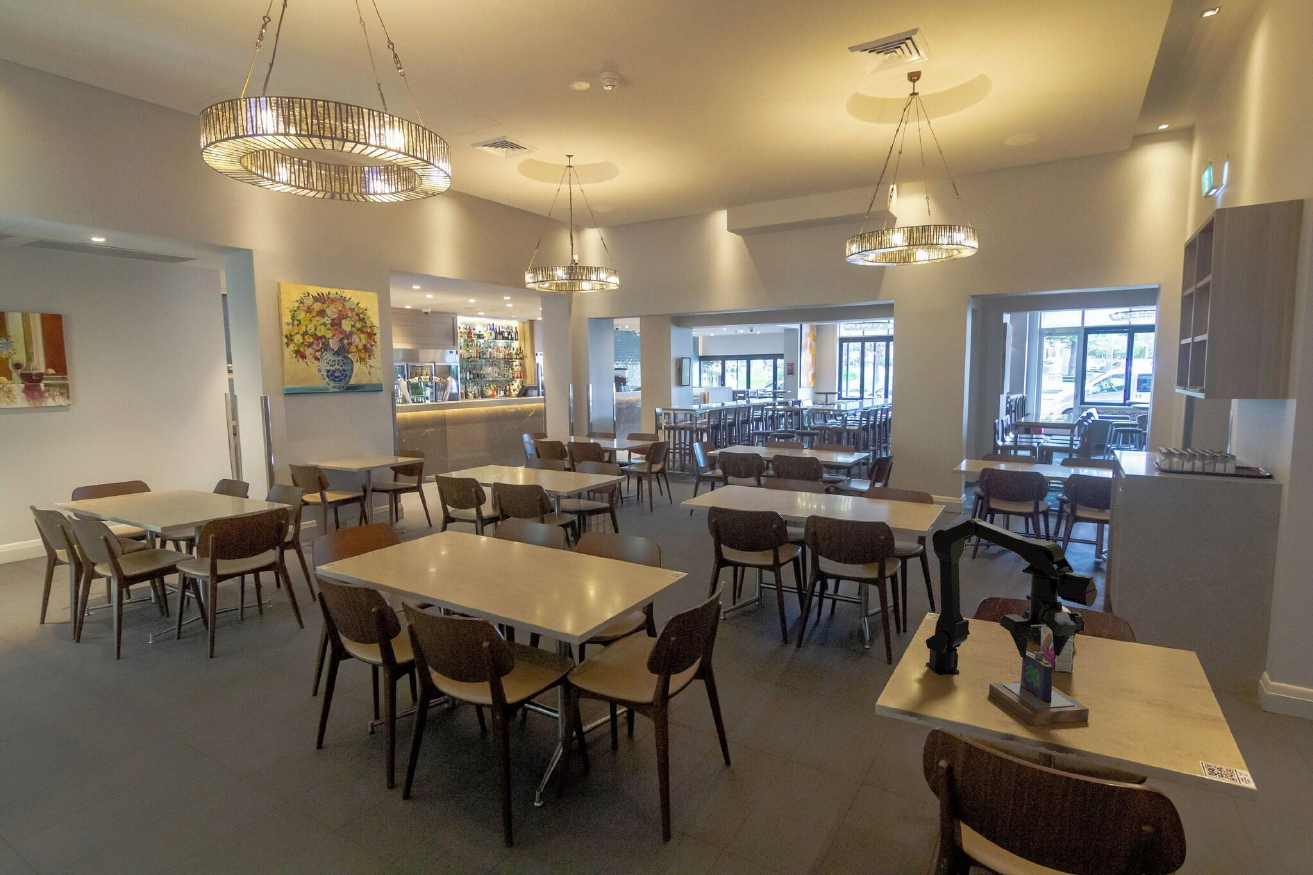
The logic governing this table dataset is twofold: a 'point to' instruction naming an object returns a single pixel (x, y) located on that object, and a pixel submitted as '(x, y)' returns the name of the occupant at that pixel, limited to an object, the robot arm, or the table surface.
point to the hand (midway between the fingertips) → (1039, 656)
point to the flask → (1037, 676)
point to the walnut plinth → (1038, 704)
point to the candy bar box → (1058, 662)
